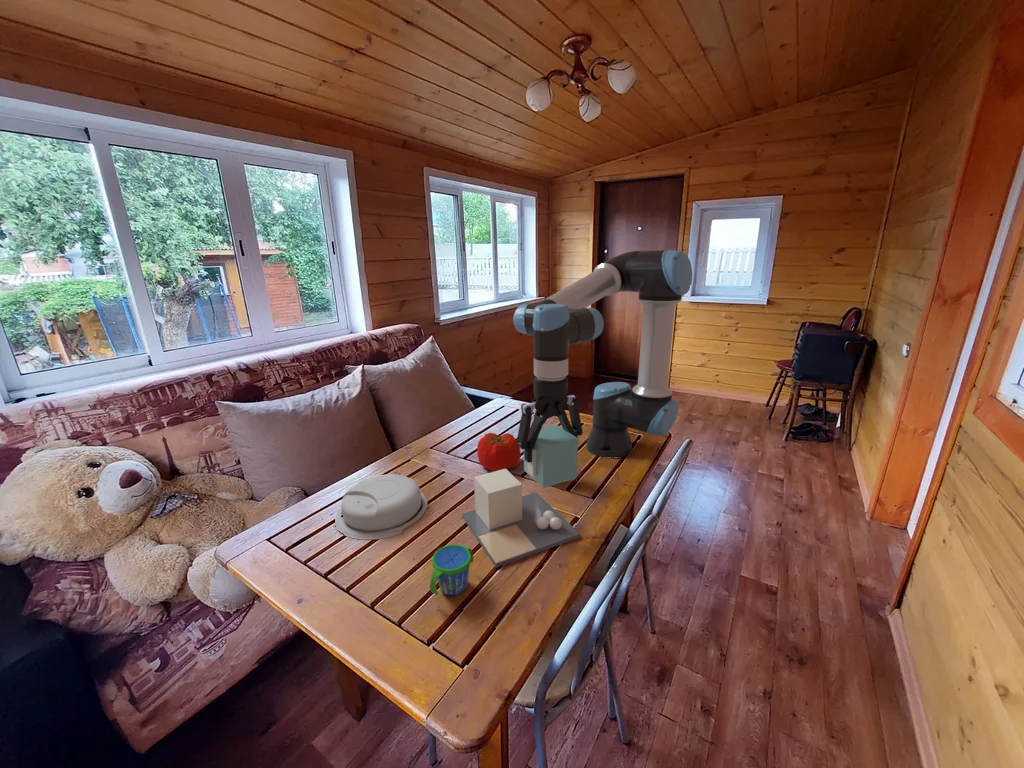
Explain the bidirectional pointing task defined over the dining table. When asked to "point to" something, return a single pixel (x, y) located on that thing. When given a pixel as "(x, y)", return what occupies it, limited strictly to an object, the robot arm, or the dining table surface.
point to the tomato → (498, 451)
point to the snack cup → (451, 569)
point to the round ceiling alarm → (380, 507)
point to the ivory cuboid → (498, 498)
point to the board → (520, 533)
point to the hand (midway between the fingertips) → (550, 468)
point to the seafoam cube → (554, 456)
